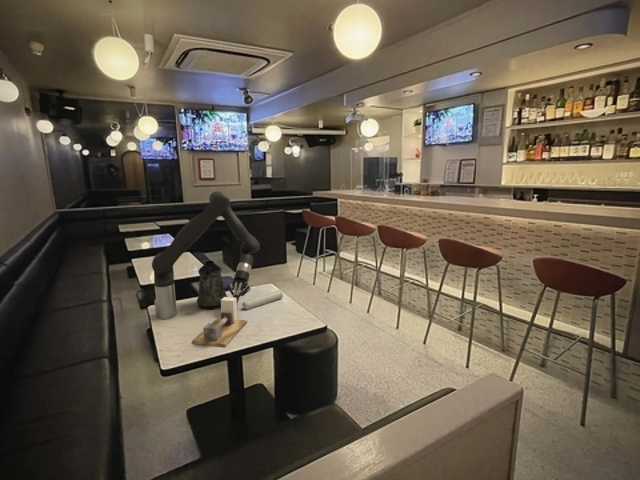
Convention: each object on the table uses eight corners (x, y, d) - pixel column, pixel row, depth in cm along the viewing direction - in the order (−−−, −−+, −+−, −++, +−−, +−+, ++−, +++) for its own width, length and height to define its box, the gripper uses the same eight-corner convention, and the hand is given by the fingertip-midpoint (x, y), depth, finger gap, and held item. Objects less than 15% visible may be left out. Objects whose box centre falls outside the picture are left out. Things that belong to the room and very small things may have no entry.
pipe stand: (192, 343, 157) (191, 328, 156) (217, 320, 180) (216, 306, 179) (226, 346, 154) (225, 331, 153) (247, 322, 177) (246, 309, 176)
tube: (246, 305, 190) (283, 293, 207) (241, 299, 193) (278, 288, 210) (245, 313, 192) (281, 300, 209) (240, 307, 195) (276, 295, 212)
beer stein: (222, 296, 211) (220, 256, 206) (233, 308, 195) (231, 264, 190) (194, 302, 203) (190, 260, 198) (202, 314, 187) (199, 269, 182)
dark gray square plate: (221, 323, 172) (220, 313, 171) (222, 322, 174) (221, 312, 172) (231, 324, 172) (230, 314, 170) (232, 323, 173) (231, 313, 172)
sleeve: (222, 321, 175) (220, 300, 172) (225, 318, 178) (224, 297, 176) (234, 322, 173) (233, 300, 171) (237, 319, 177) (236, 297, 175)
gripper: (229, 268, 188) (219, 299, 179) (252, 270, 186) (244, 301, 177) (233, 275, 194) (225, 304, 185) (256, 276, 192) (249, 306, 183)
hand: (234, 302), depth 181 cm, fingers closed
